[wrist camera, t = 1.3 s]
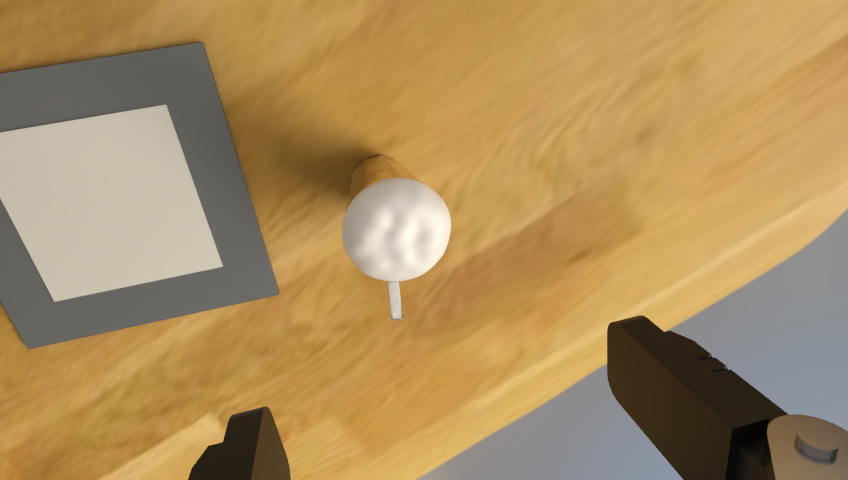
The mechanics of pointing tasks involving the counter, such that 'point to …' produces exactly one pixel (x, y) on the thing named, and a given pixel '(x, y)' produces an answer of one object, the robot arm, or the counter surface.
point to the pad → (121, 197)
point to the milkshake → (393, 225)
